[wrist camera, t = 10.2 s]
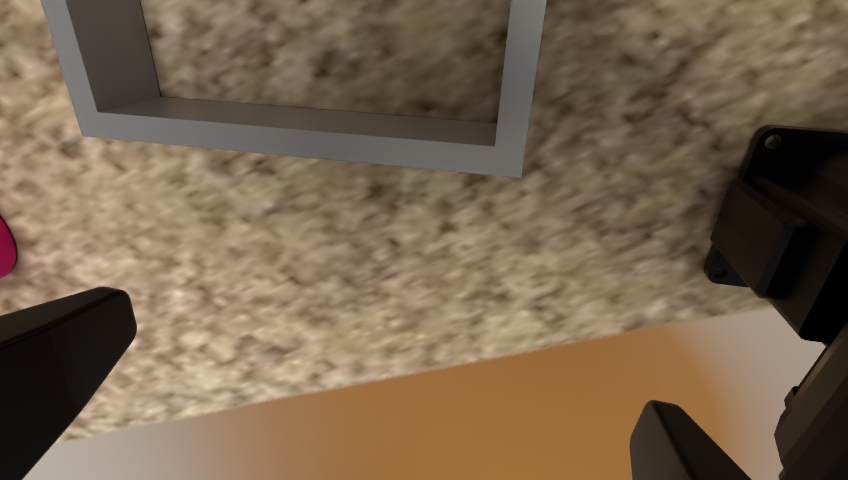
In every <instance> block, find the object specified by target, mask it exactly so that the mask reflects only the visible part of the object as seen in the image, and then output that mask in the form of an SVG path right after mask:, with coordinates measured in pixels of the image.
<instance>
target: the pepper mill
mask: <svg viewBox="0 0 848 480" xmlns="http://www.w3.org/2000/svg"><path fill="white" fill-rule="evenodd" d="M15 260H16V250H15V245H14V242H13V239H12V236H11V234H10V232H9V231H8V229H7V227H6V225H5V223H4V222H3V220H2V219H1V218H0V278H1V277H3V276H5V275H7V274H8V273H9V272H10V271H11V270H12V268H13V267H14V264H15Z"/></svg>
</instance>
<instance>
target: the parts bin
mask: <svg viewBox="0 0 848 480" xmlns="http://www.w3.org/2000/svg"><path fill="white" fill-rule="evenodd" d="M546 1H547V0H511V6H510V15H509V24H508V33H507V42H506V51H505V60H504V68H503V77H502V86H501V95H500V104H499V113H498V122H497V123H487V122H474V121H462V120H449V119H437V118H424V117H411V116H399V115H386V114H374V113H361V112H348V111H336V110H323V109H311V108H298V107H285V106H273V105H260V104H248V103H235V102H222V101H210V100H197V99H184V98H172V97H161V96H160V91H159V87H158V82H157V78H156V73H155V69H154V64H153V60H152V55H151V51H150V46H149V41H148V37H147V32H146V28H145V23H144V19H143V14H142V10H141V5H140V1H139V0H41V4H42V7H43V10H44V13H45V17H46V20H47V23H48V26H49V30H50V33H51V36H52V39H53V43H54V46H55V49H56V52H57V56H58V59H59V62H60V65H61V69H62V72H63V75H64V78H65V81H66V85H67V88H68V91H69V94H70V98H71V101H72V104H73V107H74V111H75V114H76V117H77V120H78V124H79V127H80V130H81V133H82V136H86V137H96V138H107V139H117V140H128V141H138V142H149V143H159V144H170V145H180V146H191V147H201V148H212V149H222V150H233V151H243V152H254V153H264V154H275V155H285V156H296V157H306V158H317V159H327V160H338V161H348V162H359V163H369V164H380V165H390V166H401V167H411V168H422V169H432V170H443V171H453V172H464V173H474V174H485V175H495V176H505V177H516V178H521V174H522V167H523V160H524V153H525V146H526V140H527V133H528V126H529V119H530V112H531V105H532V98H533V91H534V84H535V77H536V70H537V63H538V56H539V50H540V43H541V36H542V29H543V22H544V15H545V8H546Z"/></svg>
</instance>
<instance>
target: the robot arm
mask: <svg viewBox="0 0 848 480" xmlns="http://www.w3.org/2000/svg"><path fill="white" fill-rule="evenodd" d="M771 135H775V136H776V139H775V141H774V142H773V143H772V144H771V145H769V146H765V141H766V139H767V138H768V137H770V136H771ZM710 240H711V242H712V243H713V245H712V248H711V251H710V253H709V256H708V259H707V261H706V264H705V267H704V272H705V275H706V276H707V278H708V279H709V280H710V281H711V282H713V283H717V284H725V285H733V286H742V287H750V288H751V290H752V291H753V292H754V293H755V294H756V296H757V297H759V298H765V299H767V300H768V301H769V302H770V303H771V304H772V305H773V306H774V308H775V309H776V310H777V311H778V312H779V313H780V314H781V316H782V317H783V318H784V319H785V320H786V321H787V322H788V324H789V325H790V326H791V327H792V328H793V329H794V331H795V332H796V333H797V334H798V335H799V336H800V338H801V339H804V340H809V341H816V342H822V343H823V344H824V345H825V346H826V348H825V349H824V350H823V352H822V353H821V355H820V356H819V358H818V359H817V360H816V362H815V363H814V365H813V366H812V367H811V369H810V370H809V372H808V373H807V375H806V376H805V377H804V379H803V380H802V382H801V383H800V384H799V386H794V387H793V388H792V389H791V390H790V392H789V393H788V395H787V396H786V398H785V400H784V401H785V406H786V409H785V410H784V412H783V413H782V414H781V416H780V419H779V422H778V425H777V427H776V430H775V433H774V436H775V440H776V444H777V448H778V452H779V457H780V460H781V463H782V465H783V467H784V468H783V469H782V471H781V472H780V474H779V480H848V131H844V130H830V129H816V128H803V127H789V126H776V125H771V126H766V127H763V128H761V129H760V130H759V131H757V132H756V133H755V135H754V137H753V139H752V141H751V144H750V147H749V149H748V152H747V155H746V157H745V160H744V163H743V165H742V168H741V171H740V173H739V176H738V178H737V179H736V180H735V181H733V182H732V183H731V184H730V186H729V189H728V191H727V194H726V197H725V200H724V202H723V205H722V208H721V210H720V213H719V216H718V219H717V221H716V224H715V227H714V229H713V232H712V235H711V238H710ZM719 268H724V270H723V271H722V272H720V273H718V274H714V272H715V271H716V270H717V269H719ZM136 332H137V324H136V320H135V316H134V312H133V308H132V304H131V300H130V297H129V295H128V294H127V293H126V292H125V291H123V290H120V289H115V288H110V287H98V288H94V289H91V290H87V291H84V292H81V293H77V294H74V295H70V296H67V297H63V298H60V299H57V300H53V301H50V302H46V303H43V304H40V305H36V306H33V307H29V308H26V309H23V310H19V311H16V312H12V313H9V314H5V315H2V316H0V480H22V479H23V478H24V477H25V476H26V474H28V473H29V471H30V470H31V469H32V468H33V467H34V466H35V464H36V463H37V462H38V461H39V460H40V459H41V458H42V456H43V455H44V454H45V453H46V452H47V451H48V450H49V448H50V447H51V446H52V445H53V444H54V443H55V442H56V440H57V439H58V438H59V437H60V436H61V435H62V434H63V432H64V431H65V430H66V429H67V428H68V427H69V425H70V424H71V423H72V422H73V421H74V419H75V418H76V417H77V416H78V415H79V413H80V412H81V411H82V410H83V408H84V407H85V406H86V404H87V403H88V402H89V400H90V399H91V398H92V396H93V395H94V393H95V392H96V391H97V389H98V388H99V387H100V385H101V384H102V383H103V381H104V380H105V378H106V377H107V376H108V374H109V373H110V372H111V370H112V369H113V367H114V366H115V365H116V363H117V362H118V361H119V359H120V358H121V356H122V355H123V354H124V352H125V351H126V350H127V348H128V347H129V346H130V344H131V343H132V341H133V340H134V338H135V336H136ZM630 457H631V467H632V478H633V480H751V479H750V478H749V477H748V476H747V475H746V474H745V473H744V471H743V470H742V469H741V468H739V466H738V465H737V464H736V463H735V462H734V461H733V460H732V459H731V458H730V457H729V456H728V455H727V454H726V453H725V452H724V451H723V450H722V449H721V448H720V447H719V446H718V445H717V444H716V443H715V442H714V441H713V440H712V439H711V438H710V437H709V436H708V435H707V434H706V433H705V432H704V431H703V430H702V429H701V428H700V427H699V426H698V425H697V424H696V423H695V422H694V421H693V420H692V419H691V417H690V416H689V415H687V413H685V411H684V410H683V409H681V408H680V407H679V406H678V405H675V404H672V403H667V402H662V401H657V400H650V401H648V402H647V403H646V405H645V407H644V408H643V411H642V413H641V415H640V417H639V420H638V422H637V424H636V426H635V428H634V430H633V432H632V435H631V439H630Z"/></svg>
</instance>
